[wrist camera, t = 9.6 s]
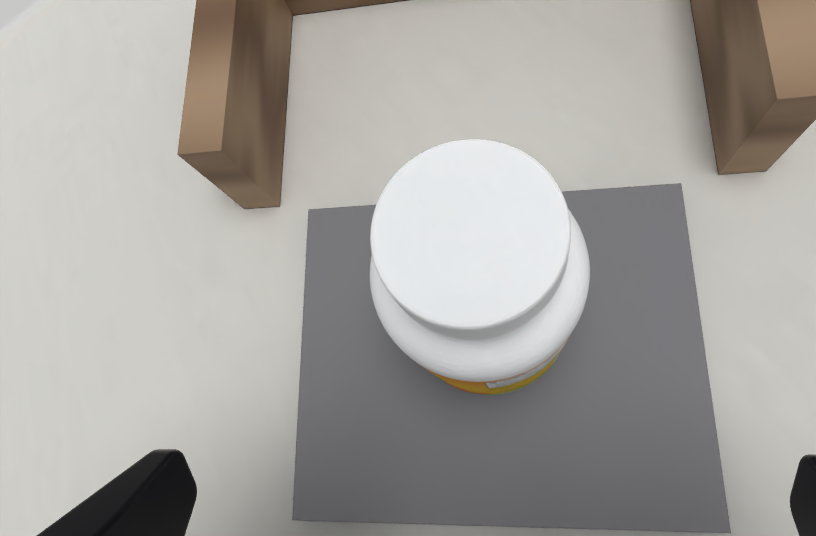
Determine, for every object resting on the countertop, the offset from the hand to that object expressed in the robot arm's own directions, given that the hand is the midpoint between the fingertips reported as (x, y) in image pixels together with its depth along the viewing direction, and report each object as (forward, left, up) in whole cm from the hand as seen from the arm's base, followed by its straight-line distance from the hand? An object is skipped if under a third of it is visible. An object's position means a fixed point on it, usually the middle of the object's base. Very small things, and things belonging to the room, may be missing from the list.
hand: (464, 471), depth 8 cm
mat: (+3, +2, -12) cm, 12 cm away
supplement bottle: (+4, +2, -12) cm, 12 cm away
